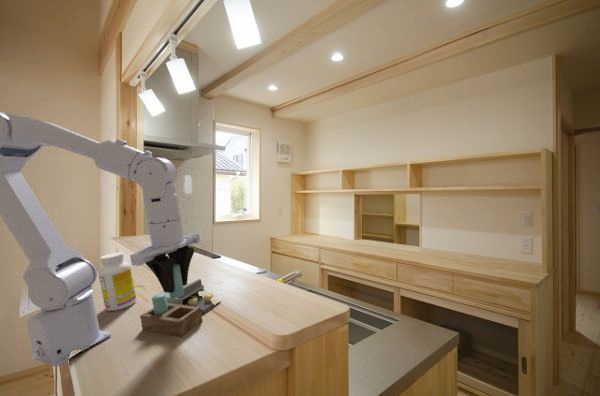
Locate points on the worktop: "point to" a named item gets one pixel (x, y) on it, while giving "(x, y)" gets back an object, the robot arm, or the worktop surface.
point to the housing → (186, 292)
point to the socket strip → (172, 320)
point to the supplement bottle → (116, 282)
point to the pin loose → (177, 282)
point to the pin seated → (160, 304)
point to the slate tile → (201, 302)
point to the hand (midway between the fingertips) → (175, 288)
